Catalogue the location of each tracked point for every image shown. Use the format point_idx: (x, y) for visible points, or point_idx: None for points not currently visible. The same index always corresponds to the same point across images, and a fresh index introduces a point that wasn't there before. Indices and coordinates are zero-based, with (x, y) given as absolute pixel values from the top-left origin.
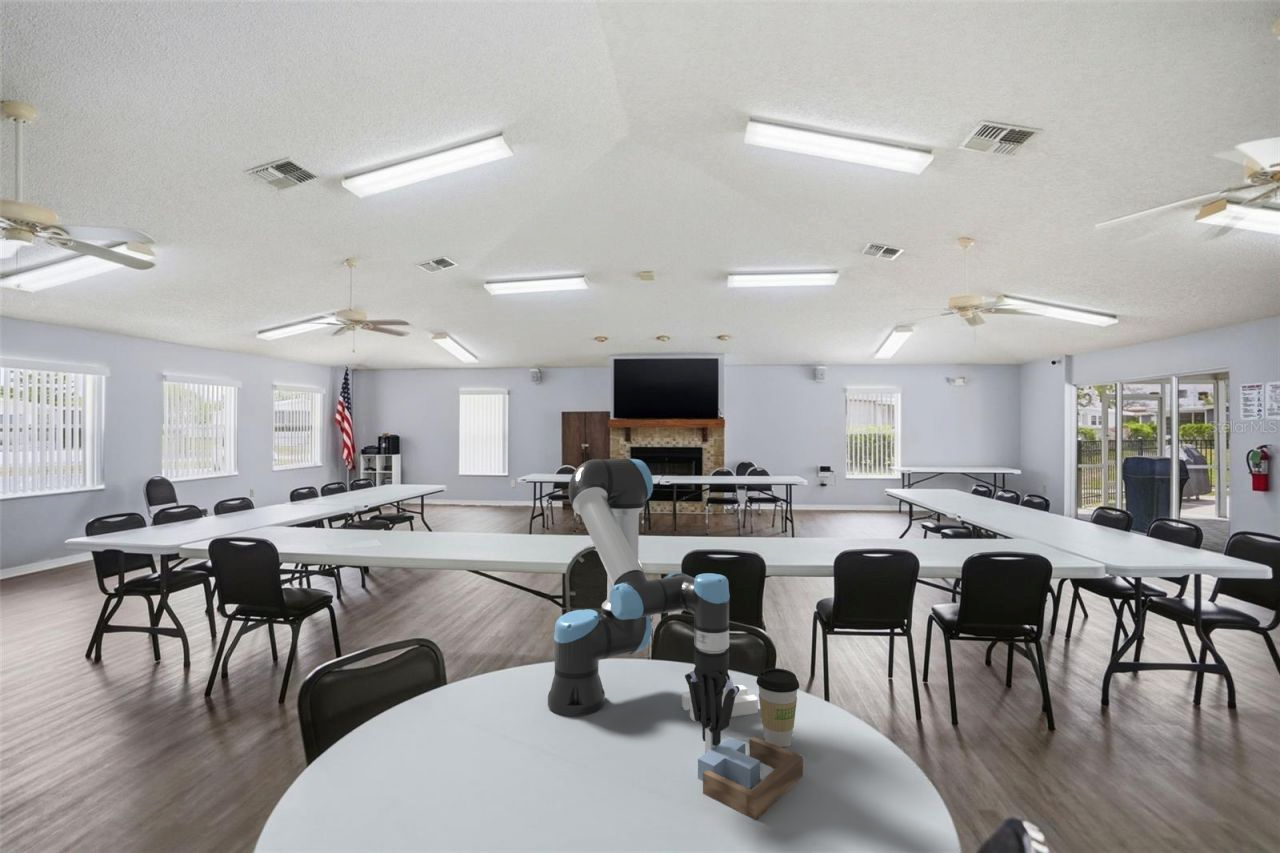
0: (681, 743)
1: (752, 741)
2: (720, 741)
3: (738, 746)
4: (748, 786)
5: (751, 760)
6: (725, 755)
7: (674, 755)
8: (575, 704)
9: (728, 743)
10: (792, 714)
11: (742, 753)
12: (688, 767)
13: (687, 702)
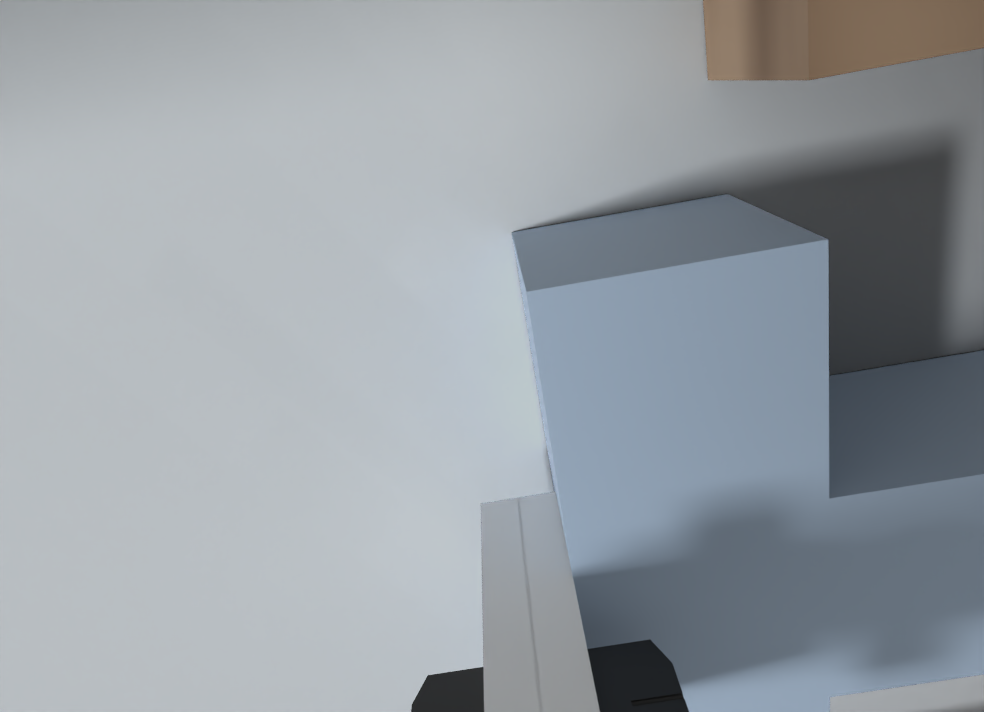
0: (16, 481)
1: (864, 67)
2: (673, 669)
3: (807, 400)
4: None
5: None
6: (802, 659)
7: (187, 654)
8: None
9: (646, 446)
10: None
11: (947, 480)
12: (419, 675)
13: None
